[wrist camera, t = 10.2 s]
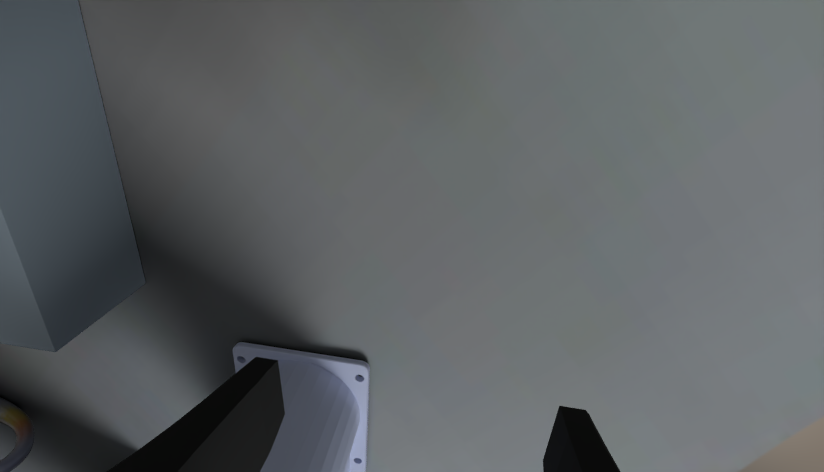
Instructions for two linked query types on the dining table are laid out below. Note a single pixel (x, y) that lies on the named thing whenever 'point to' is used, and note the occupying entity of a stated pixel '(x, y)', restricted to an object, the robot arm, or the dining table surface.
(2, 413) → the mug
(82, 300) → the grey block with hole
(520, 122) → the dining table surface
